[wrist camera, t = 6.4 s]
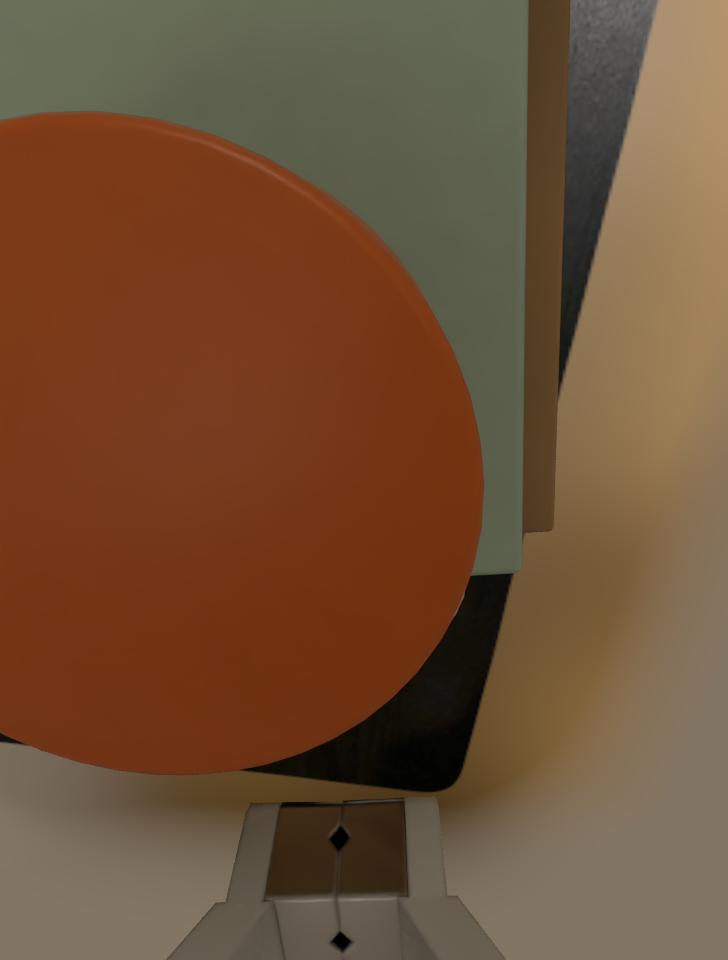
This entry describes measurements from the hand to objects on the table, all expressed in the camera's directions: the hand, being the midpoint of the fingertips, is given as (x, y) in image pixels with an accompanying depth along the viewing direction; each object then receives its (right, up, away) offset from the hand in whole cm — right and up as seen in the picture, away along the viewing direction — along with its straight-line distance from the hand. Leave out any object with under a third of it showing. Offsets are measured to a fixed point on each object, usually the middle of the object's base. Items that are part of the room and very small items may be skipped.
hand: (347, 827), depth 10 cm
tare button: (-1, +6, -5) cm, 8 cm away
